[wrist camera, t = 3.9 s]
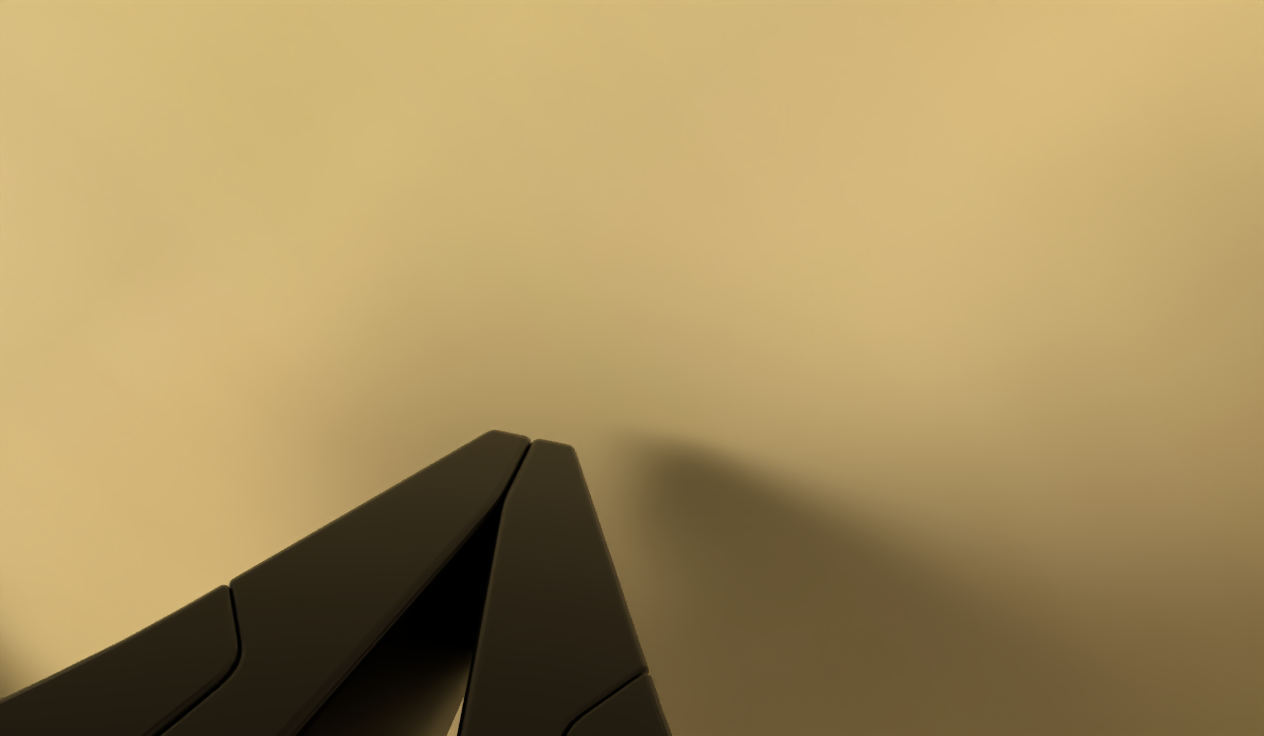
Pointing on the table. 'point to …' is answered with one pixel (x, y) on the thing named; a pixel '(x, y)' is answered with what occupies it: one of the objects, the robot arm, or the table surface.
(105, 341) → the table surface
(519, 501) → the robot arm
